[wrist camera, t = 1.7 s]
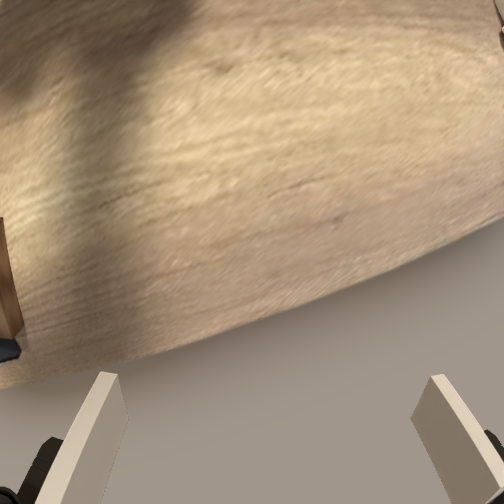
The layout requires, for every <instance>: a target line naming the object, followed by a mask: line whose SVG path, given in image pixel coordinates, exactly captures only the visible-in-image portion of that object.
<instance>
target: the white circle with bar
mask: <svg viewBox="0 0 504 504" xmlns="http://www.w3.org/2000/svg"><path fill="white" fill-rule="evenodd" d="M494 1H495V4H496V6H497V8H498V10H499V13H500V15H501V17H502V19H503V21H504V0H494ZM502 31H503V33H504V27H503V28H502Z"/></svg>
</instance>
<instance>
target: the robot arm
mask: <svg viewBox="0 0 504 504" xmlns="http://www.w3.org/2000/svg"><path fill="white" fill-rule="evenodd" d="M411 420H412V422H413V424H414V426H415V428H416V430H417V432H418V434H419V436H420V438H421V440H422V442H423V444H424V446H425V448H426V450H427V452H428V454H429V456H430V458H431V460H432V462H433V464H434V466H435V469H436V471H437V473H438V475H439V477H440V479H441V481H442V483H443V486H444V488H445V490H446V492H447V494H448V496H449V499H450V501H451V503H452V504H504V448H503V446H501V445H502V444H501V443H500V441H499V440H498V438H497V437H496V436H495V435H494V434H493V433H491V432H490V431H489V430H485V431H483V430H482V428H481V427H480V425H479V424H478V422H477V421H476V419H475V418H474V416H473V415H472V413H471V412H470V410H469V409H468V408H467V406H466V405H465V403H464V402H463V400H462V399H461V398H460V397H459V395H458V393H457V392H456V391H455V389H454V388H453V386H452V385H451V384H450V382H449V381H448V380H447V378H446V377H445V376H444V374H441V375H435V376H431V377H430V378H429V381H428V383H427V385H426V388H425V390H424V392H423V394H422V396H421V398H420V400H419V402H418V404H417V406H416V408H415V410H414V413H413V414H412V416H411ZM128 421H129V417H128V413H127V410H126V406H125V402H124V399H123V395H122V391H121V387H120V383H119V378H118V374H114V373H108V372H102V371H100V373H99V375H98V377H97V379H96V380H95V382H94V384H93V386H92V388H91V389H90V391H89V393H88V395H87V397H86V399H85V401H84V402H83V404H82V406H81V408H80V410H79V412H78V414H77V416H76V418H75V420H74V422H73V424H72V425H71V427H70V430H69V431H68V433H67V436H66V438H65V439H64V440H61V439H57V438H54V437H51V438H50V439H48V440H47V441H46V442H45V443H44V444H43V445H42V446H41V448H40V450H39V452H38V454H37V457H36V458H35V459H34V461H33V463H32V466H31V467H30V469H29V471H28V473H27V475H26V477H25V479H24V481H23V483H22V485H21V487H20V490H19V492H18V494H17V495H16V494H15V493H14V492H13V491H12V490H11V489H9V488H6V487H0V504H101V501H102V498H103V495H104V492H105V488H106V485H107V482H108V479H109V476H110V473H111V470H112V467H113V464H114V461H115V458H116V455H117V452H118V449H119V446H120V444H121V441H122V438H123V435H124V432H125V429H126V426H127V424H128Z"/></svg>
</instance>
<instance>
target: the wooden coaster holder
mask: <svg viewBox="0 0 504 504" xmlns="http://www.w3.org/2000/svg"><path fill="white" fill-rule="evenodd" d="M23 325H24V321H23V318H22V314H21V310H20V306H19V303H18V299H17V295H16V290H15V286H14V282H13V277H12V272H11V267H10V262H9V257H8V251H7V245H6V238H5V231H4V224H3V217H0V338H5V339H13V338H14V337H15V336H16V334H17V333H18V332H19V330H20V329H21V328H22V327H23Z"/></svg>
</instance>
